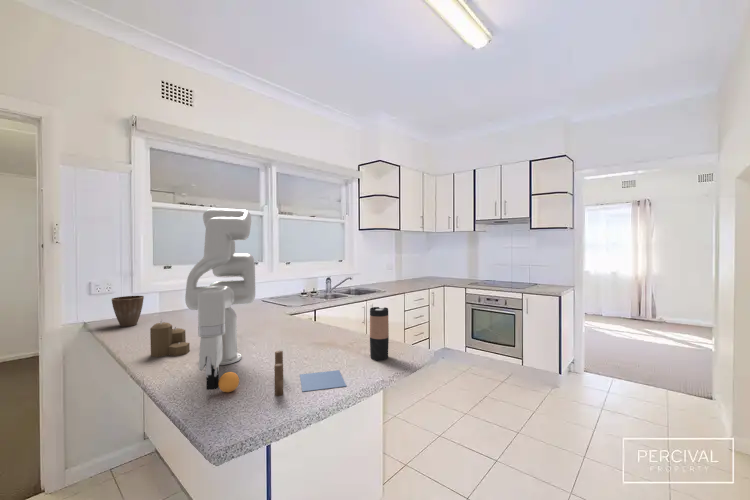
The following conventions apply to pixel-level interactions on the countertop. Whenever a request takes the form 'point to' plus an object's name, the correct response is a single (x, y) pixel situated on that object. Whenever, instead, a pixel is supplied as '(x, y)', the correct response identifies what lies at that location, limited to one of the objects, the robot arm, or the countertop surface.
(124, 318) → the plant pot
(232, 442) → the countertop surface
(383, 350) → the travel mug
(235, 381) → the ball
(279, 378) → the post
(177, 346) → the candle
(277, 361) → the post
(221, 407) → the countertop surface
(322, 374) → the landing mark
